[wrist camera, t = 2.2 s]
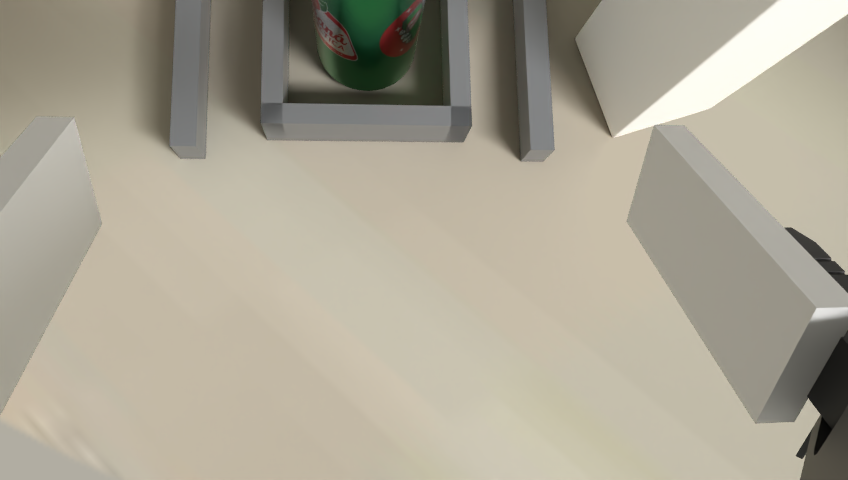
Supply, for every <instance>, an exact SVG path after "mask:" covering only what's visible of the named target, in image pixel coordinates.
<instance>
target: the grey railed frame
mask: <svg viewBox="0 0 848 480" xmlns="http://www.w3.org/2000/svg"><path fill="white" fill-rule="evenodd" d="M440 6H441V41H442V76H443V106H423V105H366V104H308V103H288V69H289V0H263V25H262V76H261V125H262V128H263V130H264V133H265V135H266V138H267V140H311V141H399V142H464V140H465V138H466V136H467V134H468V133H469V131H470V129H471V127H472V115H471V87H470V59H469V32H468V4H467V0H440ZM210 11H211V0H176V6H175V29H174V52H173V75H172V98H171V122H170V145H169V146H170V147H171V148H172V149H173V151H174V152H175V153H176V154H177V155H178V156H179V157H180V158H189V159H206V129H207V100H208V70H209V41H210ZM513 11H514V32H515V52H516V73H517V94H518V114H519V135H520V156H521V161H544V160H545V159H546V158H547V157H548V156H549V155H550V154H551V153H552V152H553V151H554V150H555V149H554V132H553V114H552V97H551V79H550V62H549V44H548V27H547V10H546V0H513Z"/></svg>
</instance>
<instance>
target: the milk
mask: <svg viewBox="0 0 848 480" xmlns="http://www.w3.org/2000/svg"><path fill="white" fill-rule="evenodd" d="M847 14H848V0H602V1H601V2H600V3H599V5H598V6H597V8H596V9H595V10H594V12H593V13H592V15H591V16H590V18H589V19H588V20H587V22H586V23H585V25H584V26H583V28H582V29H581V30H580V32H579V33H578V35H577V36H576V38H575V40H576V43H577V46H578V48H579V51H580V54H581V56H582V59H583V61H584V64H585V67H586V69H587V72H588V75H589V77H590V80H591V82H592V85H593V88H594V90H595V93H596V96H597V98H598V101H599V103H600V106H601V109H602V111H603V114H604V117H605V119H606V122H607V125H608V127H609V130H610V132H611V135H612V137H618V136H621V135H624V134H628V133H631V132H634V131H638V130H641V129H644V128H647V127H651V126H654V125H657V124H661V123H664V122H667V121H671V120H674V119H677V118H681V117H684V116H687V115H691V114H694V113H697V112H701V111H704V110H707V109H710V108H711V107H713V106H714V105H716V104H717V103H719V102H720V101H721V100H723V99H724V98H726V97H727V96H729V95H730V94H732V93H733V92H735V91H736V90H738V89H739V88H740V87H742V86H743V85H745V84H746V83H748V82H749V81H751V80H752V79H754V78H755V77H757V76H758V75H759V74H761V73H762V72H764V71H765V70H767V69H768V68H770V67H771V66H773V65H774V64H776V63H777V62H778V61H780V60H781V59H783V58H784V57H786V56H787V55H789V54H790V53H792V52H793V51H795V50H796V49H797V48H799V47H800V46H802V45H803V44H805V43H806V42H808V41H809V40H811V39H812V38H814V37H815V36H816V35H818V34H819V33H821V32H822V31H824V30H825V29H827V28H828V27H830V26H831V25H832V24H834V23H835V22H837V21H838V20H840V19H841V18H843V17H844V16H846V15H847Z"/></svg>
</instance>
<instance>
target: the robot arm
mask: <svg viewBox="0 0 848 480" xmlns="http://www.w3.org/2000/svg"><path fill="white" fill-rule="evenodd" d="M627 223H628V224H629V226H630V227H631V229H632V231H633V232H634V234H635V235H636V237H637V238H638V240H639V242H640V243H641V245H642V246H643V248H644V249H645V251H646V253H647V254H648V256H649V257H650V259H651V260H652V262H653V264H654V265H655V267H656V268H657V270H658V271H659V273H660V275H661V276H662V278H663V279H664V281H665V282H666V284H667V285H668V287H669V289H670V290H671V292H672V293H673V295H674V296H675V298H676V300H677V301H678V303H679V304H680V306H681V307H682V309H683V311H684V312H685V314H686V315H687V317H688V318H689V320H690V322H691V323H692V325H693V326H694V328H695V329H696V331H697V333H698V334H699V336H700V337H701V339H702V340H703V342H704V344H705V345H706V347H707V348H708V350H709V351H710V353H711V355H712V356H713V358H714V359H715V361H716V362H717V364H718V366H719V367H720V369H721V370H722V372H723V373H724V375H725V377H726V378H727V380H728V381H729V383H730V384H731V386H732V388H733V389H734V391H735V392H736V394H737V395H738V397H739V399H740V400H741V402H742V403H743V405H744V406H745V408H746V410H747V411H748V413H749V414H750V416H751V417H752V419H753V421H754V422H755V423H776V422H795V420H796V418H797V416H798V415H799V413H800V411H801V409H802V408H803V406H804V404H805V403H806V401H807V399H808V398H809V400H810V401H811V402H812V404H813V405H814V406H815V408H816V409H817V410H818V412H819V413H820V414H821V415H820V417H819V419H818V420H817V422H816V423H815V425H814V427H813V428H812V430H811V432H810V433H809V435H808V437H807V438H806V440H805V441H804V443H803V445H802V446H801V448H800V450H799V451H798V453H797V455H796V456H797V457H799V458H801V459H803V457H804V456H805V455H806V457H805V461H804V466H803V470H802V474H801V478H800V480H848V275H845V274H844V272H845V271H844V270H843V269H842V268H841V267H840V266H839V265H838V264H837V263H836V262H835V261H831V257H830V256H829V255H828V254H827V253H826V252H825V251H824V250H823V249H822V248H821V247H820V246H819V245H818V244H817V243H816V242H814V241H813V240H811V239H809V238H808V237H806V236H804V235H803V234H801V233H799V232H798V231H796V230H794V229H793V228H784V227H783V226H782V225H781V224H780V223H779V222H778V221H777V220H776V219H775V218H774V217H773V216H772V215H771V214H770V213H769V212H768V211H767V210H766V209H765V208H764V207H763V206H762V205H761V204H760V203H759V202H758V201H757V200H756V199H755V197H754V196H753V195H752V194H751V193H750V192H749V191H748V190H747V189H746V188H745V187H744V186H743V185H742V184H741V183H740V182H739V181H738V180H737V179H736V178H735V177H734V176H733V175H732V174H731V173H730V172H729V171H728V170H727V169H726V168H725V167H724V166H723V165H722V164H721V163H720V162H719V161H718V159H717V158H716V157H715V156H714V155H713V154H712V153H711V152H710V151H709V150H708V149H707V148H706V147H705V146H704V145H703V144H702V143H701V142H700V141H699V140H698V139H697V138H696V137H695V136H694V135H693V134H692V133H691V132H690V131H689V130H688V129H687V128H686V127H685V126H684V125H654V127H653V130H652V134H651V137H650V141H649V144H648V148H647V151H646V155H645V158H644V162H643V165H642V169H641V172H640V176H639V179H638V183H637V186H636V190H635V193H634V197H633V200H632V204H631V207H630V211H629V214H628V218H627ZM101 225H102V221H101V217H100V213H99V210H98V206H97V202H96V198H95V194H94V190H93V187H92V183H91V179H90V175H89V171H88V167H87V164H86V160H85V156H84V152H83V148H82V144H81V141H80V137H79V133H78V129H77V125H76V121H75V118H74V117H39V116H37V117H36V118H35V119H34V120H33V121H32V122H31V123H30V124H29V126H28V127H27V128H26V129H25V130H24V131H23V132H22V133H21V135H20V136H19V137H18V138H17V139H16V140H15V141H14V142H13V144H12V145H11V146H10V147H9V148H8V149H7V150H6V151H5V153H4V154H3V155H2V156H1V157H0V415H1V413H2V411H3V409H4V407H5V405H6V404H7V402H8V400H9V398H10V396H11V394H12V392H13V390H14V388H15V387H16V385H17V383H18V381H19V379H20V377H21V375H22V373H23V372H24V370H25V368H26V366H27V364H28V362H29V360H30V358H31V357H32V355H33V353H34V351H35V349H36V347H37V345H38V343H39V341H40V340H41V338H42V336H43V334H44V332H45V330H46V328H47V326H48V325H49V323H50V321H51V319H52V317H53V315H54V313H55V311H56V309H57V308H58V306H59V304H60V302H61V300H62V298H63V296H64V294H65V293H66V291H67V289H68V287H69V285H70V283H71V281H72V279H73V277H74V276H75V274H76V272H77V270H78V268H79V266H80V264H81V262H82V261H83V259H84V257H85V255H86V253H87V251H88V249H89V247H90V245H91V244H92V242H93V240H94V238H95V236H96V234H97V232H98V230H99V229H100V227H101Z"/></svg>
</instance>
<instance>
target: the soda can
mask: <svg viewBox="0 0 848 480" xmlns="http://www.w3.org/2000/svg"><path fill="white" fill-rule="evenodd" d="M424 5H425V0H312V9H313V17H314V25H315V34H316V42H317V50H318V54H319V58H320V60H321V62H322V65H323V66H324V68H325V69H326V71H327V72H328V73H329V74H330V75H331V76H332V77H333V78H334V79H335V80H337V81H338V82H339V83H341V84H343V85H345V86H347V87H350V88H352V89H357V90H363V91H373V90H379V89H383V88H386V87H388V86H391V85H392V84H394V83H396V82H397V81H398V80H400V79H401V78H402V77H403V76H404V75H405V73H406V72H407V71H408V69H409V68H410V66H411V64H412V61H413V59H414V54H415V49H416V44H417V39H418V34H419V29H420V24H421V20H422V15H423V10H424Z"/></svg>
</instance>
